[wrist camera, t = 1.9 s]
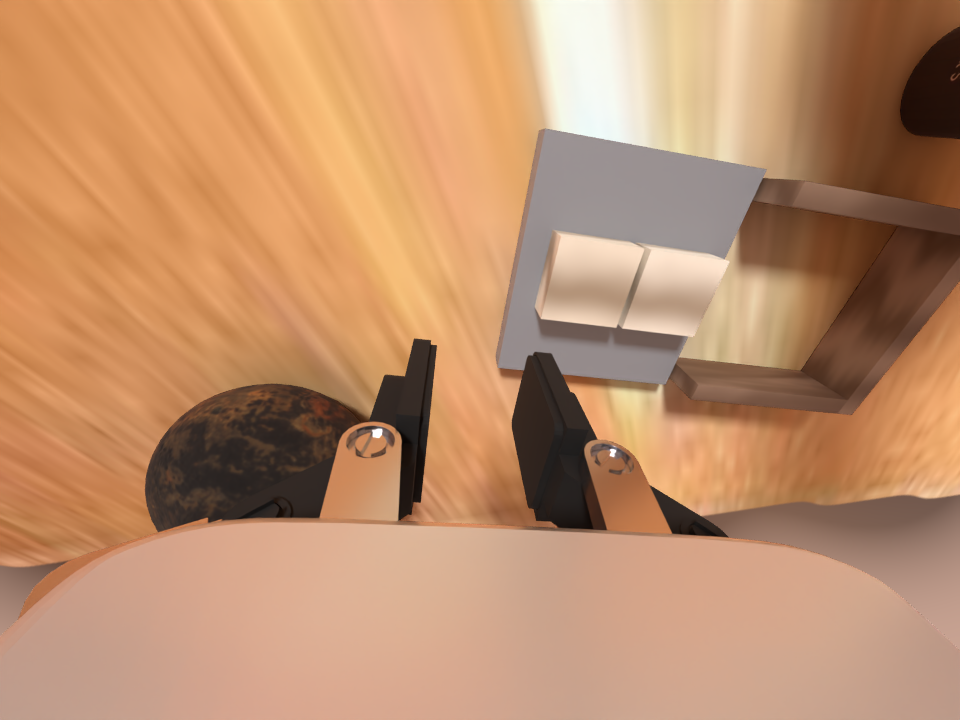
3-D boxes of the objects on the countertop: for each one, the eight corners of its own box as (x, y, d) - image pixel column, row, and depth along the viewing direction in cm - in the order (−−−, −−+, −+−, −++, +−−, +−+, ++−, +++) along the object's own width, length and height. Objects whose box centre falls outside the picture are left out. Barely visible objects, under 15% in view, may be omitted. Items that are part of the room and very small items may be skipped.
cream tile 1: (552, 229, 26) (561, 236, 24) (629, 241, 27) (644, 248, 25) (534, 306, 29) (540, 318, 27) (604, 315, 30) (616, 327, 28)
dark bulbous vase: (274, 508, 42) (18, 998, 17) (165, 386, 33) (-646, 1021, 9) (418, 470, 40) (359, 954, 16) (343, 331, 31) (-47, 927, 7)
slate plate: (539, 130, 25) (545, 128, 23) (746, 168, 27) (766, 169, 25) (495, 356, 34) (497, 367, 32) (655, 373, 35) (665, 384, 34)
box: (749, 177, 27) (805, 180, 23) (927, 209, 29) (1010, 218, 25) (662, 369, 35) (690, 399, 31) (805, 384, 37) (851, 414, 33)
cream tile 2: (635, 242, 27) (651, 249, 25) (708, 253, 28) (729, 261, 26) (610, 316, 30) (622, 328, 28) (676, 324, 31) (693, 336, 28)
